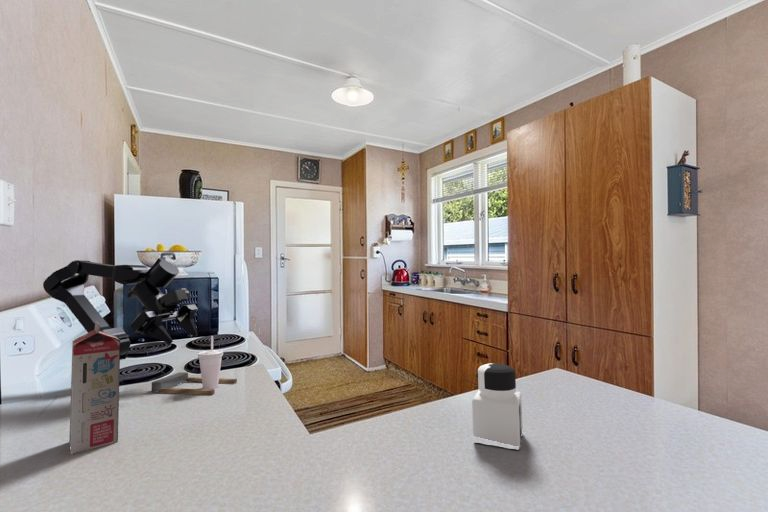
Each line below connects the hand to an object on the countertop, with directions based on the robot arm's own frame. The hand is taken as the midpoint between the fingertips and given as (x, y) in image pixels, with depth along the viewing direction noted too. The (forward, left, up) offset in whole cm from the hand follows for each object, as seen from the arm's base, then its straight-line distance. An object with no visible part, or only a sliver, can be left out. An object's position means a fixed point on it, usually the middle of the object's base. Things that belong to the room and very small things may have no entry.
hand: (184, 339), depth 100 cm
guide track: (+3, +2, -13) cm, 14 cm away
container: (+82, +20, -13) cm, 86 cm away
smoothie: (+7, +4, -13) cm, 16 cm away
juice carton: (+22, -25, -13) cm, 36 cm away
